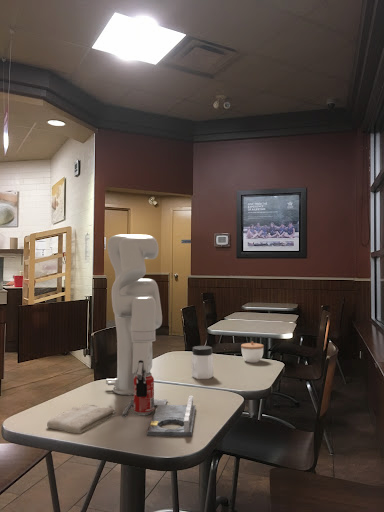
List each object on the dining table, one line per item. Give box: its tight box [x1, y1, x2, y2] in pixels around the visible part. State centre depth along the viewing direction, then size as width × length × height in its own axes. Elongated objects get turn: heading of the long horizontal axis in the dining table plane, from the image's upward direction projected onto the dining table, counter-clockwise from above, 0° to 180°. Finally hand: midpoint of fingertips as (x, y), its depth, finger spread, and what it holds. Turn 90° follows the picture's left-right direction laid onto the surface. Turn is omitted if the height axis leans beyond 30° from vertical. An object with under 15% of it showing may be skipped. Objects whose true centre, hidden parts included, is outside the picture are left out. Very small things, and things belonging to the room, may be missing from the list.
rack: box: [146, 395, 196, 438], centre depth 130 cm, size 12×23×4 cm, turn 177°
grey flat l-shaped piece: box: [121, 398, 168, 418], centre depth 141 cm, size 12×16×1 cm
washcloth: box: [46, 403, 115, 434], centre depth 131 cm, size 12×18×3 cm, turn 156°
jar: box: [191, 345, 214, 380], centre depth 182 cm, size 9×8×12 cm
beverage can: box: [133, 372, 155, 416], centre depth 138 cm, size 6×6×12 cm
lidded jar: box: [240, 341, 265, 364], centre depth 210 cm, size 11×11×9 cm
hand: (143, 392), depth 138 cm, fingers open, 7 cm apart
